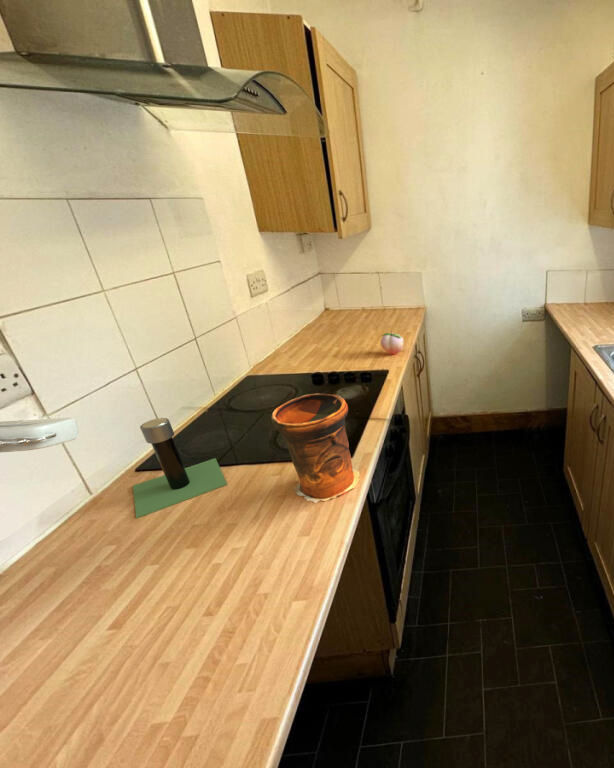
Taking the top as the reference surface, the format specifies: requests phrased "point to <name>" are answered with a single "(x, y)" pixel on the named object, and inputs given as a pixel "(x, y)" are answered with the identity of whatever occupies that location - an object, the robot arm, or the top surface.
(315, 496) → the vessel
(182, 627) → the top surface
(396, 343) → the decorative fruit
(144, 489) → the cloth
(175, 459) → the torch
